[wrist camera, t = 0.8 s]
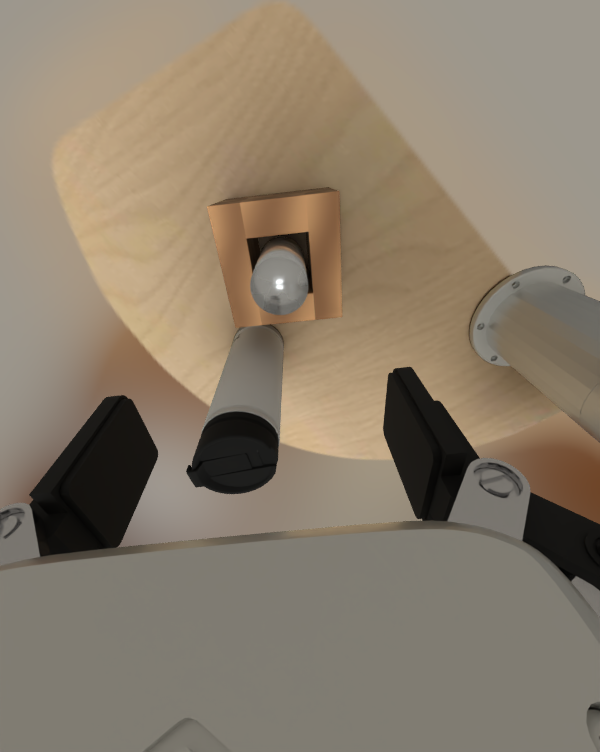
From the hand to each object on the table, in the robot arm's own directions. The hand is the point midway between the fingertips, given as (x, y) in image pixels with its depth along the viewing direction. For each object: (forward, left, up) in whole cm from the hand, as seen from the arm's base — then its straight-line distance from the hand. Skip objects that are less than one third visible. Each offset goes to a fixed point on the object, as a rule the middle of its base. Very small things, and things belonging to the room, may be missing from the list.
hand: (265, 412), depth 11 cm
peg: (0, -1, -20) cm, 20 cm away
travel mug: (+4, +10, -26) cm, 28 cm away
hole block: (0, -1, -26) cm, 26 cm away
